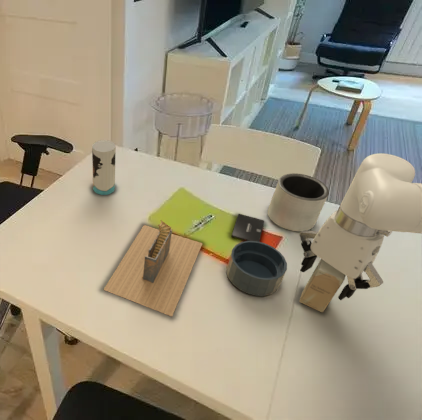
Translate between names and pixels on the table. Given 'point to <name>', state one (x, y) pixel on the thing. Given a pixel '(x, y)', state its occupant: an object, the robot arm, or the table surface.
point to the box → (322, 286)
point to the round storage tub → (256, 268)
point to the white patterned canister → (103, 167)
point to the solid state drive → (248, 228)
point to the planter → (297, 202)
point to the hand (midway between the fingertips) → (323, 282)
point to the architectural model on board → (155, 269)
